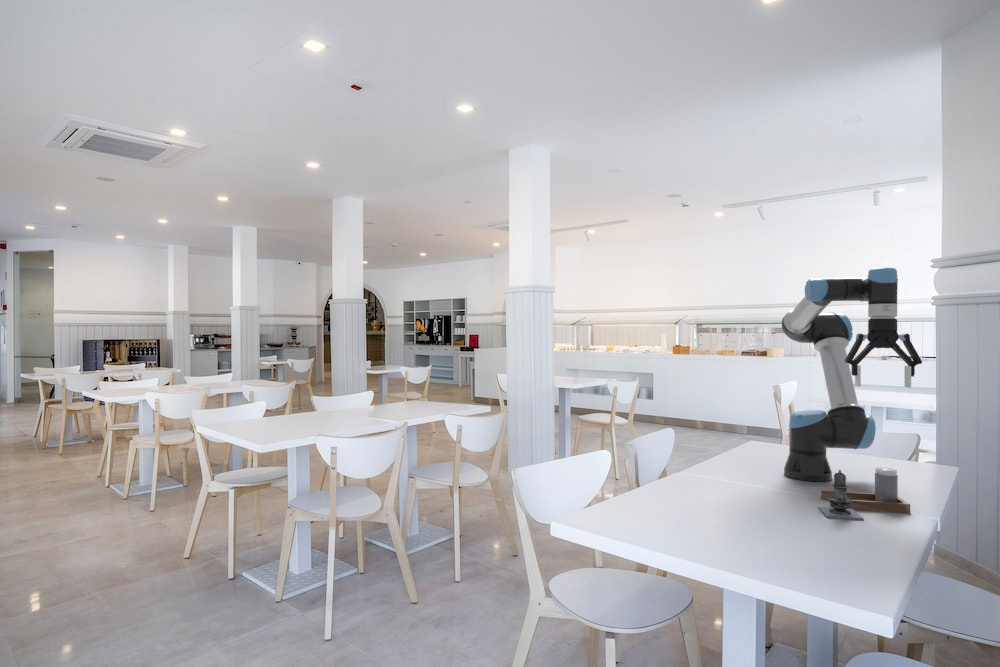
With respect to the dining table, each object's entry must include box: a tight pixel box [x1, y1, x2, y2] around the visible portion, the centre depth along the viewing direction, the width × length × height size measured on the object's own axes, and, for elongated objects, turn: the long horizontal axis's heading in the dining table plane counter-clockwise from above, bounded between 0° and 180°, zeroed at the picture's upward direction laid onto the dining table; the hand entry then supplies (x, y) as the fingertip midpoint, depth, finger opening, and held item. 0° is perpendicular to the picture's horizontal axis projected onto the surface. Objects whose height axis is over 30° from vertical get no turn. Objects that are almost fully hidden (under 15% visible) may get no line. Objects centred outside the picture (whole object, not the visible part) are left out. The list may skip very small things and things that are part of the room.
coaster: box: [817, 505, 865, 521], centre depth 163 cm, size 9×9×1 cm
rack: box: [820, 489, 911, 514], centre depth 171 cm, size 10×20×2 cm, turn 76°
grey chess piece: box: [828, 469, 852, 515], centre depth 163 cm, size 6×6×12 cm
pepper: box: [874, 466, 899, 503], centre depth 170 cm, size 6×6×11 cm
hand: (882, 386), depth 178 cm, fingers open, 13 cm apart
